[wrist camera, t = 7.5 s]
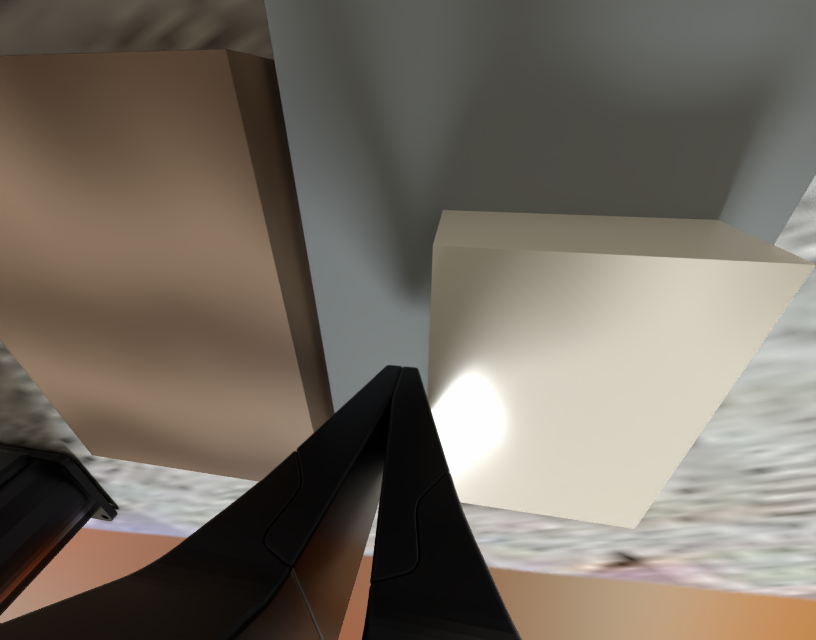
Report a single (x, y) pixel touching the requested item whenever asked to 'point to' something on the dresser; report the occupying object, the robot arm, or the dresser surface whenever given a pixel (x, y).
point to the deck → (159, 257)
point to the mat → (524, 134)
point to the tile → (590, 351)
